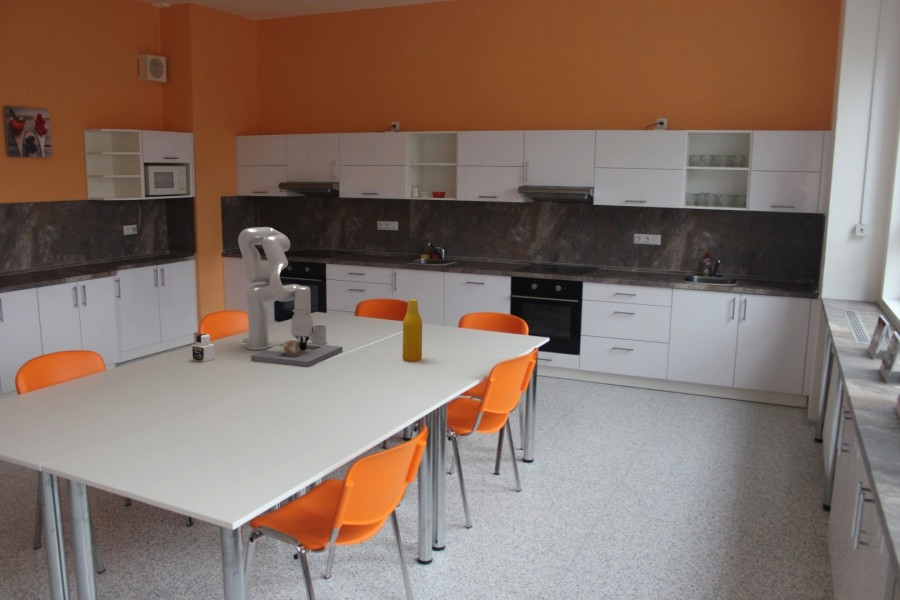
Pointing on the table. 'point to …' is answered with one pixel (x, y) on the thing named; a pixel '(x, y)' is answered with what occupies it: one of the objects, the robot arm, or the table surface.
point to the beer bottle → (412, 333)
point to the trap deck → (297, 355)
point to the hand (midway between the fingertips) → (303, 350)
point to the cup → (319, 335)
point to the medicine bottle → (203, 349)
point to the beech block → (291, 346)
